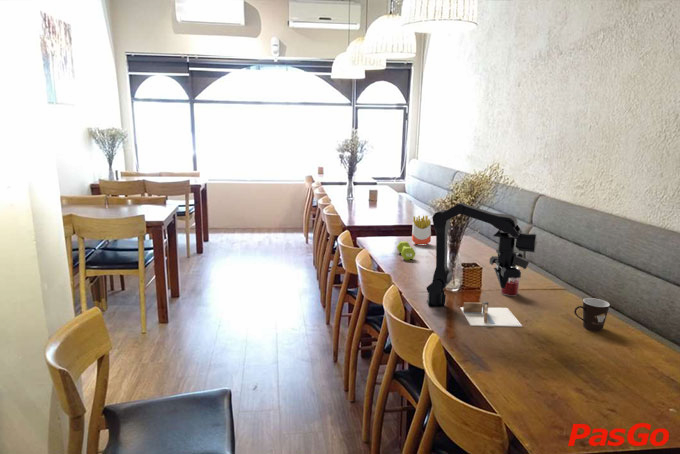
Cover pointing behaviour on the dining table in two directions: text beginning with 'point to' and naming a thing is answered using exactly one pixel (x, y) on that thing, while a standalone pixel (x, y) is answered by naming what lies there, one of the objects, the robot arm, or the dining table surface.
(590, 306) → the coffee mug
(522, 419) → the dining table surface
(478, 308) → the fixed panel
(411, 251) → the dumbbell
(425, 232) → the french fries container
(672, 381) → the dining table surface
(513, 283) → the soda can
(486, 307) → the fold panel
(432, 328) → the dining table surface
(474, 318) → the card
